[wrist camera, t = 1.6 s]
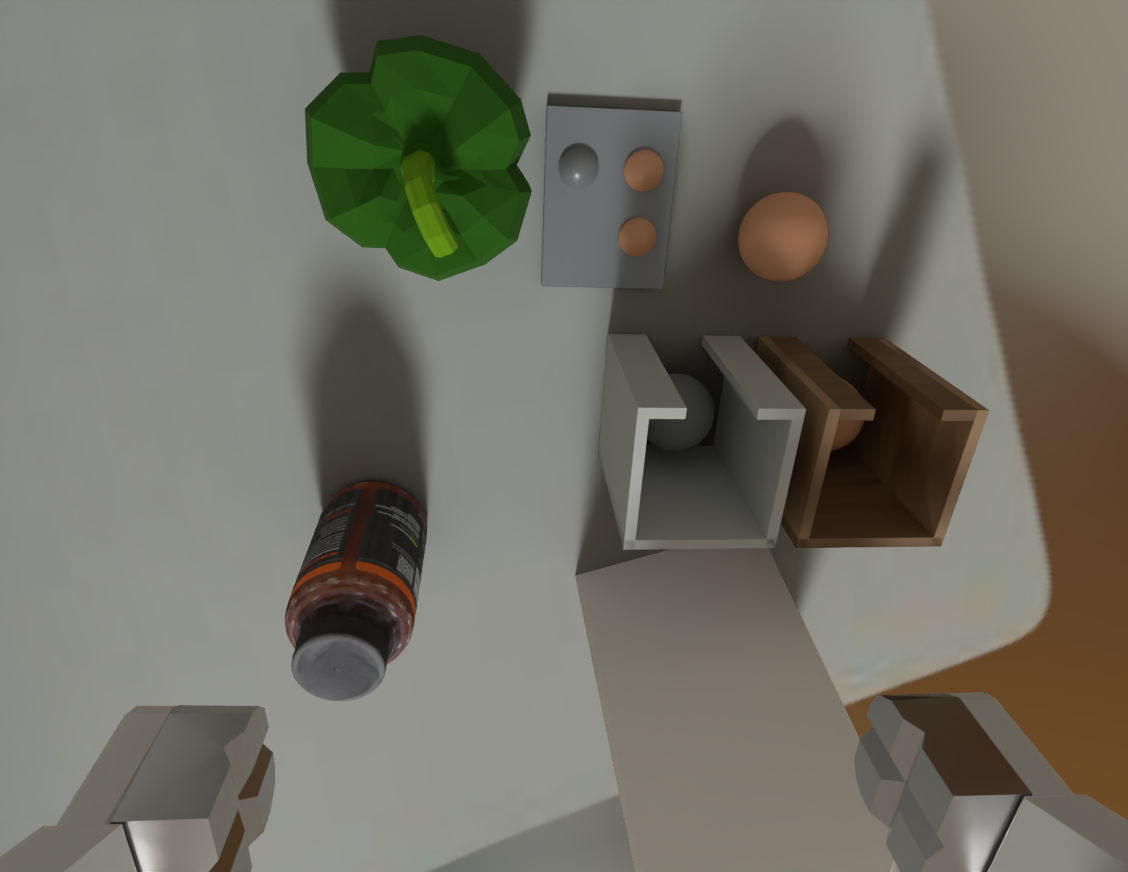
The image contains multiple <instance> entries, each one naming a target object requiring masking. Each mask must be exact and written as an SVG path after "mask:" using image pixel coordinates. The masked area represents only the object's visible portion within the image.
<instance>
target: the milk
mask: <svg viewBox="0 0 1128 872" xmlns="http://www.w3.org/2000/svg"><path fill="white" fill-rule="evenodd" d="M575 577H576V582H577V587H578V592H579V597H580V602H581V607H582V612H583V617H584V622H585V627H586V632H587V637H588V642H589V647H590V651H591V656H592V661H593V666H594V671H595V676H596V681H597V686H598V691H599V696H600V701H601V706H602V711H603V716H604V721H605V726H606V731H607V736H608V740H609V745H610V750H611V755H612V760H613V765H614V770H615V775H616V780H617V785H618V790H619V795H620V799H621V805H622V810H623V815H624V820H625V824H626V829H627V834H628V839H629V844H630V849H631V854H632V859H633V863H634V867H635V871H636V872H900V871H899V869H898V867H897V865H896V863H895V861H894V859H893V857H892V855H891V853H890V851H889V849H888V847H887V845H886V840H887V834H888V829H889V828H888V827H887V826H886V825H885V824H883V823H882V822H881V821H880V820H878V819H877V818H876V817H875V816H873V815H872V814H871V813H870V812H869V810H868V808H867V806H866V804H865V802H864V800H863V798H862V796H861V793H860V790H859V787H858V783H857V780H856V773H855V759H854V757H855V754H856V750H857V746H858V742H859V737H858V735H857V733H856V731H855V729H854V726H853V724H852V722H851V720H850V718H849V716H848V714H847V712H846V710H845V708H844V705H843V703H842V701H841V699H840V697H839V695H838V693H837V691H836V689H835V687H834V684H833V682H832V680H831V678H830V676H829V674H828V672H827V670H826V668H825V666H824V663H823V661H822V659H821V657H820V655H819V653H818V651H817V649H816V647H815V645H814V642H813V640H812V638H811V636H810V634H809V632H808V630H807V628H806V626H805V624H804V621H803V619H802V617H801V615H800V613H799V611H798V609H797V607H796V605H795V603H794V600H793V598H792V596H791V594H790V592H789V590H788V588H787V586H786V584H785V582H784V580H783V577H782V575H781V573H780V571H779V569H778V567H777V565H776V563H775V561H774V559H773V556H772V554H771V552H770V550H769V548H740V549H670V550H666V551H663V552H659V553H656V554H652V555H648V556H645V557H641V558H637V559H634V560H630V561H626V562H623V563H619V564H615V565H612V566H608V567H604V568H601V569H597V570H593V571H590V572H586V573H582V574H579V575H575Z"/></svg>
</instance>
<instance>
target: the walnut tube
mask: <svg viewBox="0 0 1128 872" xmlns="http://www.w3.org/2000/svg"><path fill="white" fill-rule="evenodd" d="M848 348H850V349H851V350H852V351H853V352H855V353H856V354H857V355H859V356H860V357H861V358H862V359H864V360H865V361H866V362H867V363H869V364H870V366H869V370H868V374H867V378H866V382H865V386H864V389H863V393H862V397H861V396H860V395H859V394H858V393H857V392H856V391H855V390H854V389H853V388H851V387H850V386H849V385H848V384H847V383H846V382H845V381H844V380H843V379H841V378H840V377H839V376H838V375H837V374H836V373H835V372H834V371H833V370H831V369H830V368H829V367H828V366H827V365H826V364H825V363H824V362H823V361H821V360H820V359H819V358H818V357H817V356H816V355H815V354H814V353H813V352H811V351H810V350H809V349H808V348H807V347H806V346H805V345H804V344H803V343H801V342H800V341H799V340H798V339H797V338H796V337H766V336H759V337H758V342H757V348H756V354H757V355H758V356H759V358H760V359H761V360H762V361H763V362H764V363H765V364H766V365H767V366H768V367H769V369H770V370H771V371H772V372H773V373H774V374H775V375H776V376H777V377H778V378H779V380H780V381H781V382H782V383H783V384H784V385H785V386H786V387H787V388H788V390H789V391H790V392H791V393H792V394H793V395H794V396H795V397H796V398H797V399H798V401H799V402H800V403H801V404H802V405H803V406H804V407H805V408H806V412H805V416H804V421H803V425H802V430H801V434H800V439H799V443H798V448H797V452H796V456H795V461H794V465H793V470H792V474H791V479H790V483H789V488H788V492H787V497H786V501H785V506H784V510H783V515H782V519H781V524H782V526H783V527H784V529H785V531H786V532H787V534H788V536H789V537H790V539H791V540H792V542H793V544H794V545H795V547H796V548H831V547H923V546H941V545H942V542H943V539H944V536H945V534H946V531H947V528H948V525H949V522H950V520H951V517H952V514H953V511H954V508H955V505H956V503H957V500H958V497H959V494H960V491H961V488H962V486H963V483H964V480H965V477H966V474H967V472H968V469H969V466H970V463H971V460H972V457H973V455H974V452H975V449H976V446H977V443H978V440H979V438H980V435H981V432H982V429H983V426H984V424H985V421H986V418H987V415H988V412H989V410H988V409H986V408H985V407H983V406H982V405H981V404H979V403H978V402H976V401H975V400H973V399H972V398H971V397H969V396H968V395H966V394H965V393H963V392H962V391H960V390H959V389H958V388H956V387H955V386H953V385H952V384H950V383H949V382H947V381H946V380H945V379H943V378H942V377H940V376H939V375H937V374H936V373H935V372H933V371H932V370H930V369H929V368H927V367H926V366H924V365H923V364H922V363H920V362H919V361H917V360H916V359H914V358H913V357H911V356H910V355H909V354H907V353H906V352H904V351H903V350H901V349H900V348H898V347H897V346H896V345H894V344H893V343H891V342H890V341H888V340H887V339H878V338H850V339H849V343H848ZM838 420H864V423H863V426H862V428H861V430H860V432H859V434H858V435H857V436H856V438H855V439H854V440H853V441H851V442H850V443H849V446H844V447H842V448H839V449H836V450H832V451H831V448H832V444H833V440H834V436H835V432H836V428H837V424H838Z"/></svg>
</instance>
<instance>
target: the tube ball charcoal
mask: <svg viewBox="0 0 1128 872" xmlns="http://www.w3.org/2000/svg"><path fill="white" fill-rule="evenodd" d="M668 375H669V377H670V379H671V380H672V382H673V384H674V386H675V388H676V389H677V391H678V393H679V395H680V397H681V398H682V400H683V402H684V404H685V406H686V407H687V411H686V418H685V419H649V424H648V433H647V440H648V441H650V442H651V443H652V444H654V445H655V446H657V447H659V448H661V449H664V450H669V451H681V450H686V449H689V448H691V447H693V446H695V445H697V444H698V443H700V442H701V441H702V440H703V439H704V438H705V437H706V435H707V434H708V433H709V431H710V429H711V427H712V424H713V420H714V413H715V412H714V404H713V400H712V397H711V395H710V393H709V391H708V390H707V389H706V387H705V386H704V385H703V384H702V383H701V382H699V381H698V380H696V379H695V378H693V377H691V376H688V375H684V374H677V373H674V374H668Z"/></svg>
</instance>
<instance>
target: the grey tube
mask: <svg viewBox="0 0 1128 872" xmlns="http://www.w3.org/2000/svg"><path fill="white" fill-rule="evenodd" d="M701 345H702V346H703V347H704V349H705V350H706V351H707V353H708V354H709V355H710V357H711V358H712V360H713V361H714V362H715V364H716V365H717V366H718V368H719V369H720V370H721V372H722V373H723V374H724V381H723V387H722V393H721V399H720V406H719V412H718V418H717V424H716V430H715V437H714V443H713V446H693V447H691V448H689V449H686V450H681V451H669V450H664V449H661V448H659V447H657V446H655V445H646V442H647V433H648V424H649V419H685V418H686V411H687V407H686V406H685V404H684V402H683V400H682V398H681V397H680V395H679V393H678V391H677V389H676V388H675V386H674V384H673V382H672V380H671V379H670V377H669V375H668V373H667V371H666V369H665V368H664V366H663V364H662V362H661V360H660V359H659V357H658V355H657V353H656V351H655V350H654V348H653V346H652V344H651V342H650V341H649V339H648V337H647V335H646V334H608V336H607V349H606V362H605V375H604V388H603V400H602V413H601V426H600V439H599V452H598V454H599V457H600V461H601V465H602V469H603V473H604V477H605V481H606V485H607V488H608V492H609V496H610V500H611V504H612V508H613V512H614V516H615V519H616V523H617V527H618V531H619V535H620V539H621V543H622V547H623V550H649V549H740V548H775V546H776V541H777V537H778V533H779V528H780V524H781V519H782V515H783V510H784V506H785V501H786V497H787V492H788V488H789V483H790V479H791V474H792V470H793V465H794V461H795V456H796V452H797V448H798V443H799V439H800V434H801V430H802V425H803V421H804V416H805V412H806V408H805V407H804V406H803V405H802V404H801V403H800V402H799V401H798V399H797V398H796V397H795V396H794V395H793V394H792V393H791V392H790V391H789V390H788V388H787V387H786V386H785V385H784V384H783V383H782V382H781V381H780V380H779V378H778V377H777V376H776V375H775V374H774V373H773V372H772V371H771V370H770V369H769V367H768V366H767V365H766V364H765V363H764V362H763V361H762V360H761V359H760V358H759V356H758V355H757V354H756V353H755V352H754V351H753V350H752V349H751V348H750V346H749V345H748V344H747V343H746V342H745V341H744V340H743V339H742V338H741V337H740V336H710V335H703V337H702V344H701Z"/></svg>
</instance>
